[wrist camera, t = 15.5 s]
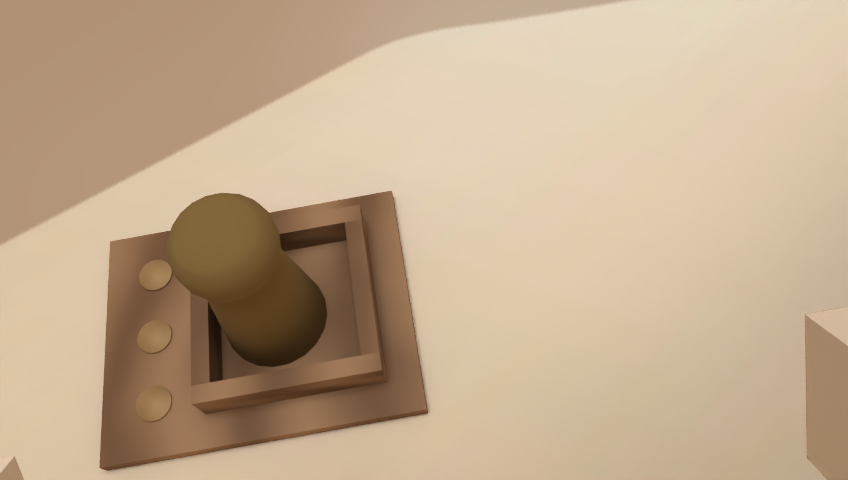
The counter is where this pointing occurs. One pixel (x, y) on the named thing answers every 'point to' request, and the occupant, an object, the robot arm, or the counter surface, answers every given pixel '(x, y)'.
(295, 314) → the cork
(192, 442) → the walnut holder
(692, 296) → the counter surface
